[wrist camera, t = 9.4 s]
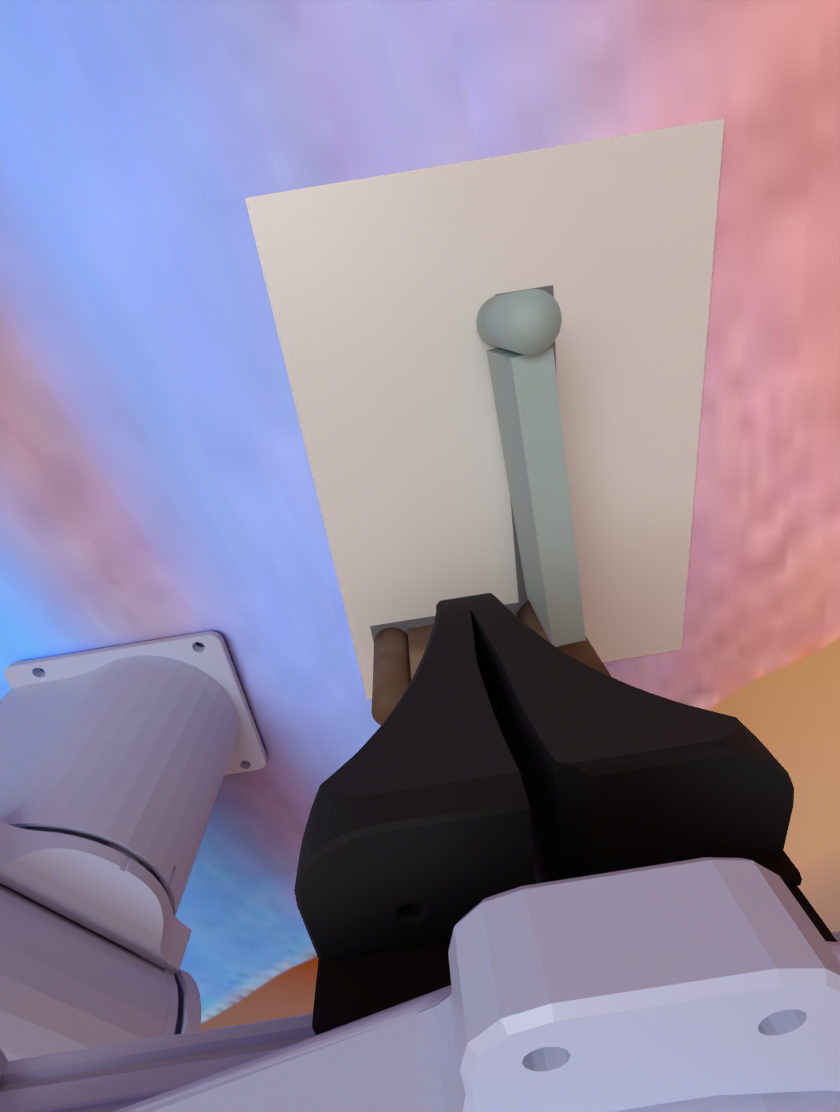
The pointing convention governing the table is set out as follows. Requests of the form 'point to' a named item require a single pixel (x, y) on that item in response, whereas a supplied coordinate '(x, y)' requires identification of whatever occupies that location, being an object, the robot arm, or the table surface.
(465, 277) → the card
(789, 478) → the table surface
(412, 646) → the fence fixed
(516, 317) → the fence panel
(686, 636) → the table surface
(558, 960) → the robot arm
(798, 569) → the table surface
